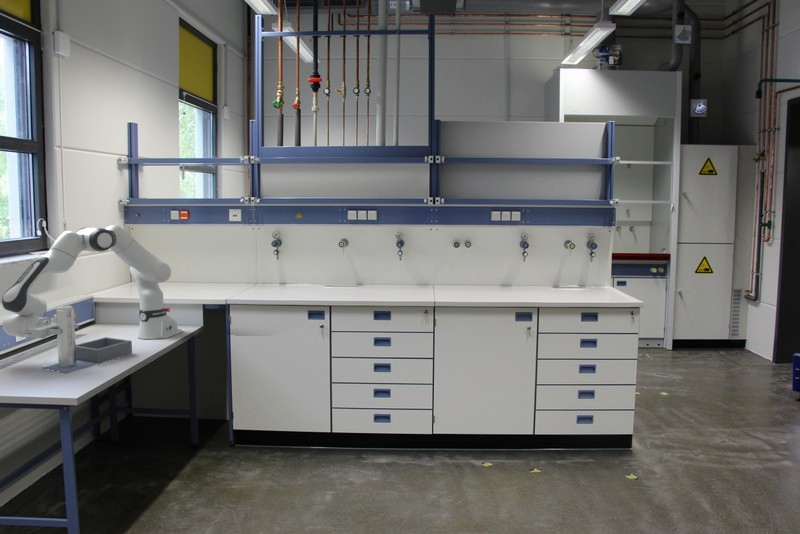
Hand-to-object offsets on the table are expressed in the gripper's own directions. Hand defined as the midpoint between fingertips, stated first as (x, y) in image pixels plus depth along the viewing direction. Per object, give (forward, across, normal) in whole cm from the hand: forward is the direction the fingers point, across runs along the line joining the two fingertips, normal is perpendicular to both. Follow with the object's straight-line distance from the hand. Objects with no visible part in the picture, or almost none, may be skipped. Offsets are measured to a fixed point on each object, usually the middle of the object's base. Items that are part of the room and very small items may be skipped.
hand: (69, 329), depth 246 cm
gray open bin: (+2, +17, +16) cm, 23 cm away
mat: (-1, 0, +16) cm, 16 cm away
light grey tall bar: (-1, -1, +16) cm, 16 cm away
